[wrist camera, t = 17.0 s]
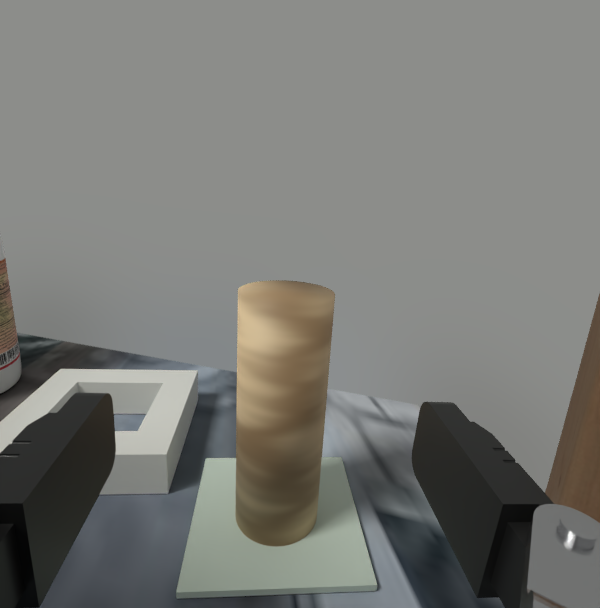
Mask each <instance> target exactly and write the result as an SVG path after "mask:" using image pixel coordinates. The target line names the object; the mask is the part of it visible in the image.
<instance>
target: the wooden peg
mask: <svg viewBox="0 0 600 608" xmlns="http://www.w3.org/2000/svg"><path fill="white" fill-rule="evenodd" d="M334 301H335V294H334V292H333V291H332V290H330V289H328V288H326V287H323V286H320V285H316V284H311V283H305V282H297V281H260V282H254V283H249V284H246V285H243V286H241V287H240V288H239V289H238V340H237V342H238V343H237V344H238V345H237V424H236V509H235V517H236V522H237V525H238V527H239V529H240V530H241V531H242V533H243V534H244V535H245V536H247V537H248V538H249V539H251V540H252V541H254V542H256V543H259V544H262V545H266V546H276V547H278V546H286V545H290V544H293V543H296V542H298V541H300V540H302V539H303V538H305V537H306V536H307V535H308V534H309V533H310V532H311V530H312V529H313V528H314V525H315V523H316V519H317V509H318V497H319V484H320V472H321V460H322V448H323V435H324V423H325V411H326V399H327V386H328V374H329V361H330V350H331V337H332V325H333V313H334V312H333V311H334Z"/></svg>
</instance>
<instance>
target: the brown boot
mask: <svg viewBox="0 0 600 608" xmlns="http://www.w3.org/2000/svg"><path fill="white" fill-rule="evenodd" d="M545 494H546V495H547V496H548V497H549V498H550V500H551V501H552V502H553V503H554V504H558V505H563V506H567V507H570V508H573V509H575V510H578V511H580V512H582V513H584V514H586V515H588V516H590V517H591V518H593V519H594V520H596V521H597V522H599V523H600V294H599V298H598V301H597V305H596V309H595V313H594V316H593V320H592V324H591V327H590V331H589V334H588V338H587V342H586V345H585V350H584V353H583V357H582V360H581V364H580V368H579V371H578V375H577V379H576V382H575V386H574V390H573V394H572V397H571V401H570V404H569V408H568V412H567V416H566V419H565V423H564V427H563V430H562V434H561V437H560V441H559V445H558V448H557V452H556V456H555V460H554V463H553V467H552V471H551V474H550V478H549V482H548V485H547V488H546V491H545Z"/></svg>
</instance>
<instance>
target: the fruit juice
mask: <svg viewBox="0 0 600 608" xmlns="http://www.w3.org/2000/svg"><path fill="white" fill-rule="evenodd" d="M20 376H21V359H20V352H19V345H18V339H17V332H16V326H15V319H14V313H13V306H12V300H11V293H10V287H9V280H8V274H7V267H6V260H5V252H4V247H3V242H2V238H1V234H0V394H1V393H3V392H5V391H6V390H8V389H10V388H11V387H12V386H14V385H15V384H16V383H17V382H18V380H19V378H20Z"/></svg>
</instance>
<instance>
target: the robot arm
mask: <svg viewBox="0 0 600 608" xmlns="http://www.w3.org/2000/svg"><path fill="white" fill-rule="evenodd" d="M115 453H116V442H115V428H114V413H113V401H112V397H111V395H110V394H109V393H80V392H78V393H75V394H74V395H73V396H72V397H71V398H70V399H69V400H68V401H67V402H66V403H65V404H64V406H63V407H62V408H61V409H60V410H59V411H58V412H57V413H48V414H46V415H44V416H43V417H41V418H39V419H37V420H36V421H34V422H32V423H30V424H29V425H27V426H26V427H25V428H24V429H23V430H22V431H21V432H20V433H19V434H18V435H17V436H16V437H15V439H14V440H13V441H12V444H9V445H8V446H7V447H6V448H5V449H4V450H3V451H2V452H1V453H0V608H39V607H40V605H41V603H42V601H43V599H44V598H45V596H46V594H47V592H48V590H49V588H50V586H51V584H52V582H53V581H54V579H55V577H56V575H57V573H58V571H59V569H60V567H61V566H62V564H63V562H64V560H65V558H66V556H67V554H68V552H69V550H70V549H71V547H72V545H73V543H74V541H75V539H76V537H77V535H78V534H79V532H80V530H81V528H82V526H83V524H84V522H85V520H86V518H87V517H88V515H89V513H90V511H91V509H92V507H93V505H94V503H95V502H96V500H97V498H98V496H99V494H100V492H101V490H102V488H103V486H104V485H105V483H106V481H107V479H108V477H109V475H110V473H111V471H112V468H113V464H114V460H115ZM412 464H413V470H414V473H415V476H416V478H417V480H418V482H419V484H420V486H421V488H422V490H423V492H424V494H425V496H426V498H427V500H428V502H429V504H430V506H431V508H432V510H433V512H434V514H435V516H436V518H437V520H438V522H439V524H440V526H441V528H442V530H443V532H444V533H445V535H446V537H447V539H448V541H449V543H450V545H451V547H452V549H453V551H454V553H455V555H456V557H457V559H458V561H459V563H460V565H461V567H462V569H463V571H464V573H465V575H466V577H467V579H468V581H469V583H470V585H471V587H472V589H473V591H474V593H475V595H476V597H477V598H490V597H499V598H500V600H501V601H502V603H503V605H504V607H505V608H600V523H599V522H597V521H596V520H594V519H593V518H591V517H590V516H588V515H586V514H584V513H582V512H580V511H578V510H575V509H573V508H570V507H567V506H563V505H558V504H554V503H553V502H552V501H551V500H550V498H549V497H548V496H547V495H546V494H545V493H544V492H543V491H542V489H541V488H540V487H539V486H538V485H537V484H536V483H535V482H534V480H533V479H532V478H531V477H530V476H529V475H528V474H527V473H526V472H525V470H524V469H523V468H522V467H521V466H520V465H519V464H518V463H515V459H514V458H513V457H512V456H511V455H510V454H509V453H508V451H505V448H504V447H503V446H502V445H501V443H500V442H499V441H498V440H497V439H496V438H495V437H494V436H493V435H492V434H491V433H490V432H488V431H487V430H485V429H484V428H482V427H481V426H479V425H478V424H476V423H475V422H470V421H469V420H468V419H467V417H466V416H465V415H464V414H463V413H462V412H461V410H460V409H459V408H458V407H457V406H456V405H455V404H454V403H451V402H424V403H423V404H422V406H421V408H420V412H419V418H418V423H417V428H416V434H415V439H414V445H413V450H412Z"/></svg>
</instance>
